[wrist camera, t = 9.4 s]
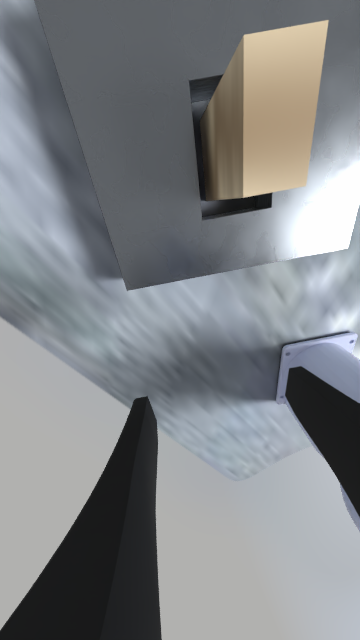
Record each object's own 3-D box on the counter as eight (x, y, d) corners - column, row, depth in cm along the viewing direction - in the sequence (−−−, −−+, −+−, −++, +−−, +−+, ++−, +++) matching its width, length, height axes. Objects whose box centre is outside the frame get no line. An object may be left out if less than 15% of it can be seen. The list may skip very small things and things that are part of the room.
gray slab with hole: (322, 242, 16) (347, 248, 14) (131, 279, 16) (126, 290, 14) (374, -33, 10) (436, -100, 8) (55, 25, 10) (26, -25, 8)
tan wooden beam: (242, 194, 14) (306, 186, 8) (206, 201, 14) (243, 197, 8) (242, 113, 12) (328, 20, 6) (199, 120, 12) (243, 34, 6)
